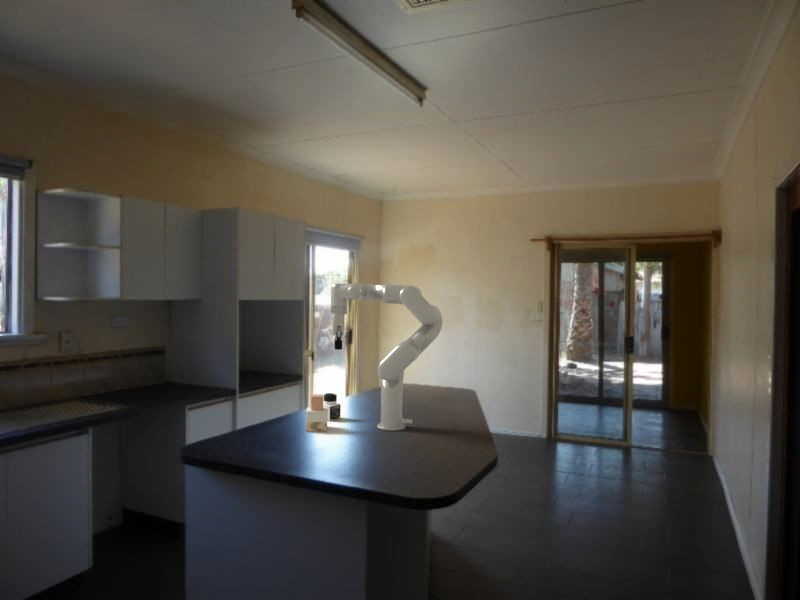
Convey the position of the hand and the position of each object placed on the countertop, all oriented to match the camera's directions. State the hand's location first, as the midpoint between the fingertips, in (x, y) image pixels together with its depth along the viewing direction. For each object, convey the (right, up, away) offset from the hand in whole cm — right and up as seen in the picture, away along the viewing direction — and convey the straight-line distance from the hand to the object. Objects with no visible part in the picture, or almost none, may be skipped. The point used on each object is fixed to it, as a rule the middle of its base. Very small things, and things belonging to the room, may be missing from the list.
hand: (338, 348), depth 254 cm
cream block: (-8, -30, -10) cm, 33 cm away
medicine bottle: (-5, -34, +10) cm, 36 cm away
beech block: (-8, -35, -10) cm, 37 cm away
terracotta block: (-8, -26, -10) cm, 29 cm away
